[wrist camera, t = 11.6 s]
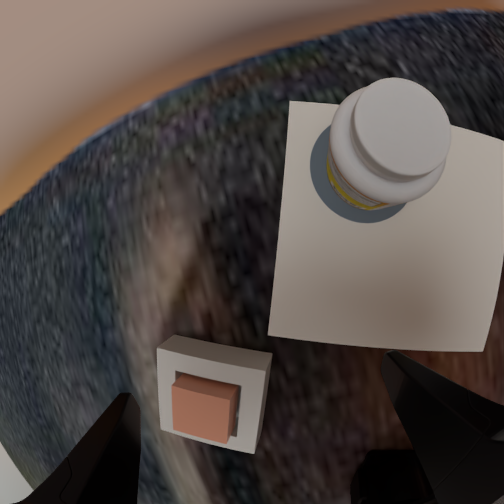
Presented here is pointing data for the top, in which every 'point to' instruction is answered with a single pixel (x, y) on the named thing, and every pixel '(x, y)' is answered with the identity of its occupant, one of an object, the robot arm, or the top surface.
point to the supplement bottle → (387, 144)
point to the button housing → (221, 369)
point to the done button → (204, 407)
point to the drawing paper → (388, 250)
